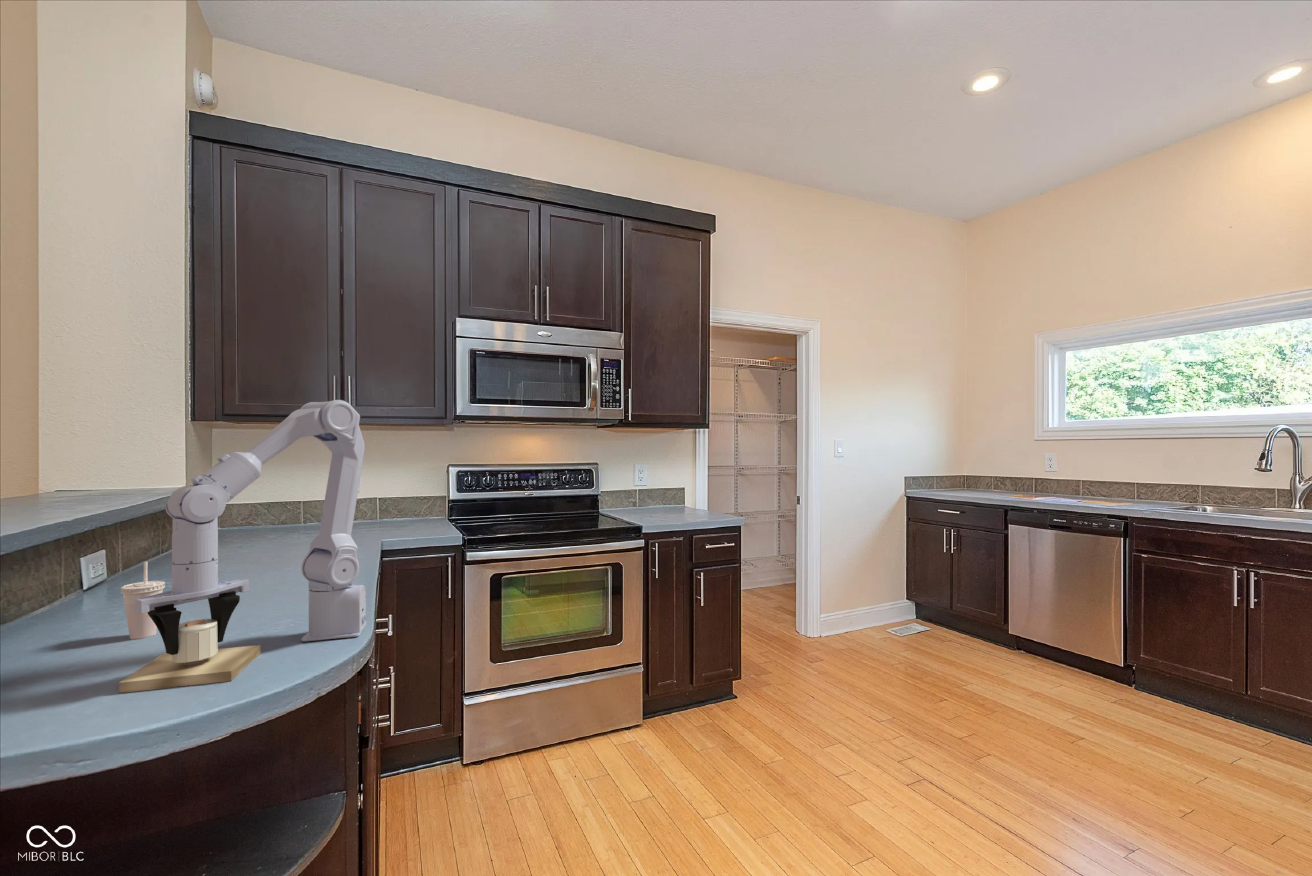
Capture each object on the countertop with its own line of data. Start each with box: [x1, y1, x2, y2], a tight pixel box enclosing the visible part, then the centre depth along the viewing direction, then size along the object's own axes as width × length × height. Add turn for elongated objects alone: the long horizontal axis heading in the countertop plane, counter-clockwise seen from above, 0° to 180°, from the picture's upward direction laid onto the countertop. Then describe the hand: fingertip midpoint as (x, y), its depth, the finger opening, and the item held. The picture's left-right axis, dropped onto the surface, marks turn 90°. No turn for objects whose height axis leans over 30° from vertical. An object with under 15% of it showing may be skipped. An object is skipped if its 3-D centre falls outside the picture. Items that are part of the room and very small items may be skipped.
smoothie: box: [119, 561, 166, 640], centre depth 109 cm, size 6×6×14 cm
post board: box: [118, 644, 262, 694], centre depth 92 cm, size 14×12×5 cm
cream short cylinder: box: [172, 618, 219, 663], centre depth 92 cm, size 6×6×5 cm
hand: (195, 647), depth 92 cm, fingers closed on cream short cylinder, 5 cm apart
